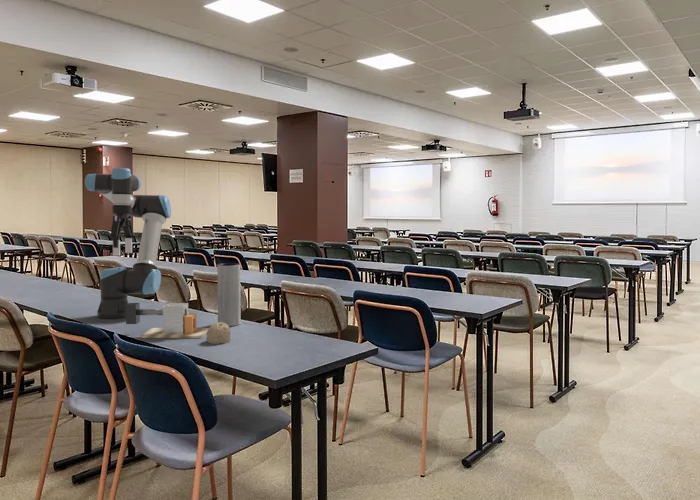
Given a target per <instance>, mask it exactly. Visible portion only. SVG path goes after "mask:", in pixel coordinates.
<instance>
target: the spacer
mask: <svg viewBox="0 0 700 500" xmlns="http://www.w3.org/2000/svg"><path fill="white" fill-rule="evenodd" d="M184 319H185V334H192V333H193V332H195V331H196V328H197V312H195V313H193V312H192V313H191V312H190V313H189V312H188V314H187V315H186V316H185V317H184Z"/></svg>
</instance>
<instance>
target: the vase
mask: <svg viewBox="0 0 700 500" xmlns="http://www.w3.org/2000/svg"><path fill="white" fill-rule="evenodd" d="M216 266H217V267H216V268H217V273H216V275H217V323H219V322H224V323H226V324H227V325H228V326H229V327H235V326H239V325H241V321H242V319H241V315H242V312H241V264H240V263H234V262H233V263H232V262H231V263H227V262H226V263H225V262H224V263H218V264H217V265H216Z"/></svg>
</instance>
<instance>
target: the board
mask: <svg viewBox="0 0 700 500" xmlns="http://www.w3.org/2000/svg"><path fill="white" fill-rule="evenodd" d="M209 328H210V327H196V331H195V332H193V333H192V334H185V333H184V334H163V327H152V328H150V329H148V330H146V331H144V333H142V334H140V338H142V339H202V338H203V337H204V336H205V335H207V332H208V329H209Z"/></svg>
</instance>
